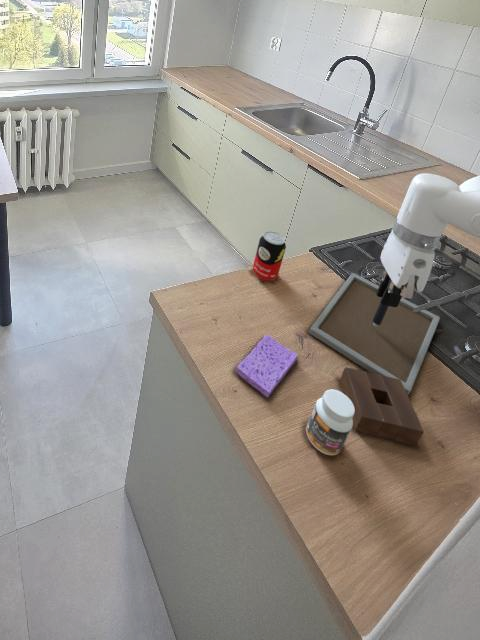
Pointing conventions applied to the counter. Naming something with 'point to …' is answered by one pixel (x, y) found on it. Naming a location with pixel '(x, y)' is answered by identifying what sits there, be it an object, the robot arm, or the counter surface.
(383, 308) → the peg
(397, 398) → the dock
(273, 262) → the beverage can
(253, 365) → the sponge
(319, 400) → the pill bottle
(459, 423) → the counter surface
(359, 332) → the grey-rimmed serving tray
